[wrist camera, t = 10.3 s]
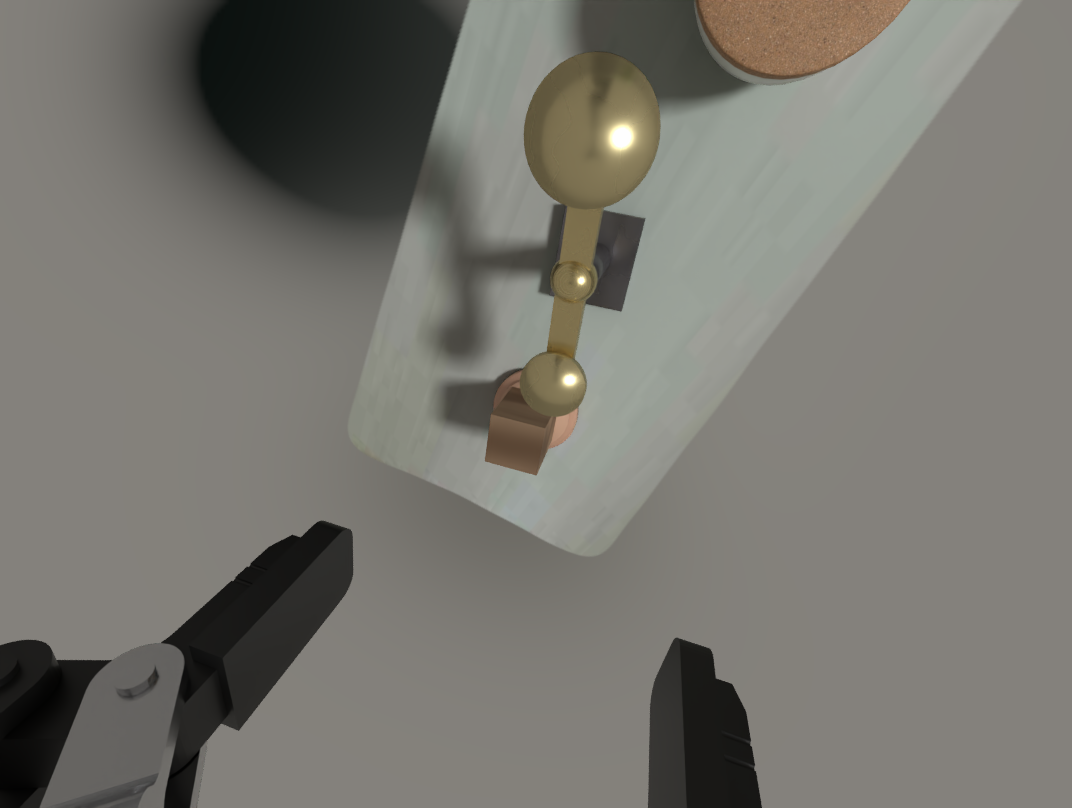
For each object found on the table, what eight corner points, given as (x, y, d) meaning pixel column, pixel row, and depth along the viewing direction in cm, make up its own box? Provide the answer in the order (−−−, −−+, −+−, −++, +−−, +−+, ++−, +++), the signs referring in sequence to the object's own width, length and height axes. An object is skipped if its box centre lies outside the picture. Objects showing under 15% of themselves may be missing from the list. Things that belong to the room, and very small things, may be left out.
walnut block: (512, 386, 42) (490, 414, 36) (560, 398, 41) (545, 428, 36) (506, 429, 44) (484, 461, 38) (551, 441, 43) (536, 475, 38)
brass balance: (587, 105, 33) (535, 42, 19) (670, 119, 32) (678, 62, 18) (541, 355, 41) (483, 432, 28) (606, 371, 40) (579, 459, 27)
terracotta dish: (502, 359, 42) (497, 363, 41) (586, 380, 41) (584, 386, 40) (491, 432, 46) (487, 439, 45) (568, 454, 45) (566, 461, 44)
